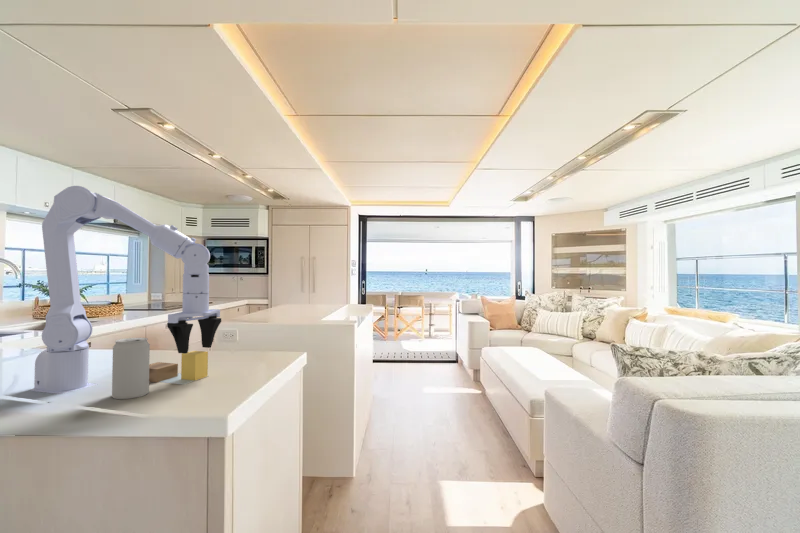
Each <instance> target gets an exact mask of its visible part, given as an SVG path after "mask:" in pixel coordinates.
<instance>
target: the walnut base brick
mask: <svg viewBox="0 0 800 533" xmlns="http://www.w3.org/2000/svg"><path fill="white" fill-rule="evenodd" d="M178 373H179V364H178V363H172V362H161V361H157V362H154V363H149V383H151V382H152V383H161V382H160V381H163V380H166V379H170V378H173V377H177V376H178Z"/></svg>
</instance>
